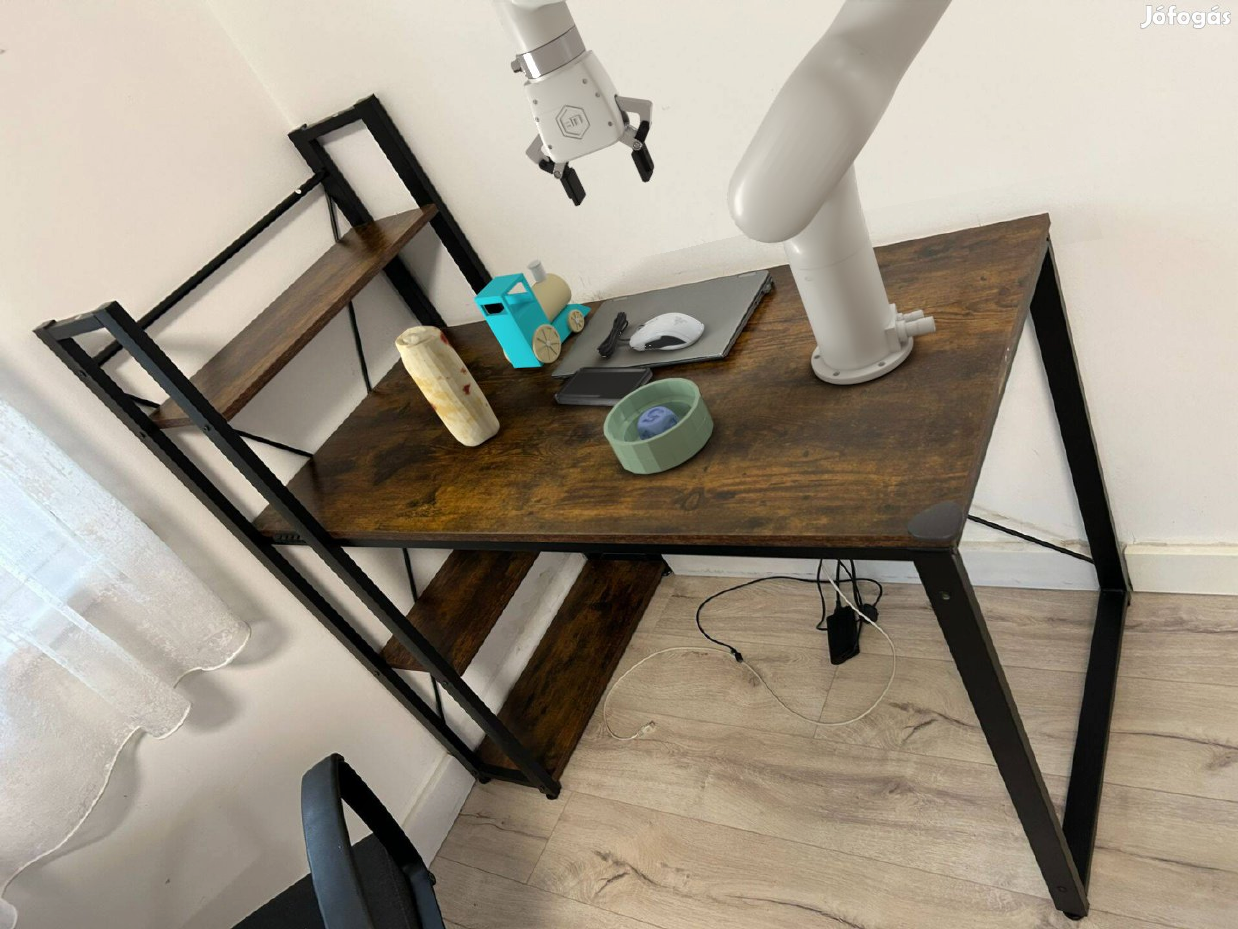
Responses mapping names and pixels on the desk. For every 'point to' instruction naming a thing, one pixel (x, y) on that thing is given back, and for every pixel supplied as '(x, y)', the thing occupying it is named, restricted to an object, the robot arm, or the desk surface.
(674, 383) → the bowl
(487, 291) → the toy train
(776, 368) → the desk surface
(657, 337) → the computer mouse
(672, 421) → the decorative dice
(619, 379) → the phone
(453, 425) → the food model
